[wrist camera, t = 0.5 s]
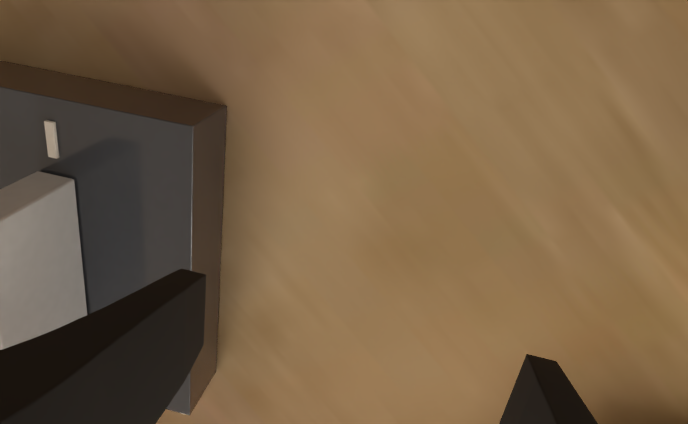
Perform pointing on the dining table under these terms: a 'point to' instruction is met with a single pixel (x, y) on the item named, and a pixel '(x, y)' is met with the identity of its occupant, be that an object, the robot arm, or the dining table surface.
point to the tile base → (126, 184)
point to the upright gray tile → (39, 258)
